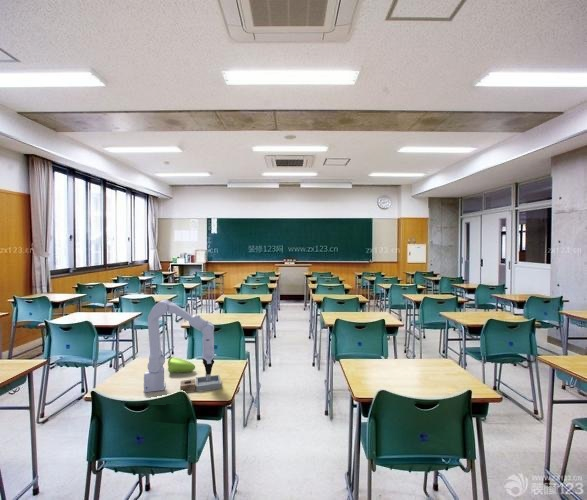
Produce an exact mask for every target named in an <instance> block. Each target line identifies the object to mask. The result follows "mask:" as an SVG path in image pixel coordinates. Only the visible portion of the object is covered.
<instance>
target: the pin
mask: <svg viewBox="0 0 587 500" xmlns="http://www.w3.org/2000/svg"><path fill="white" fill-rule="evenodd" d="M211 374H212V373H211ZM211 374H210V375H206V374H205V376H206V382H210V381H211V376H212V375H211Z"/></svg>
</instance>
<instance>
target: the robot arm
mask: <svg viewBox="0 0 587 500" xmlns="http://www.w3.org/2000/svg"><path fill="white" fill-rule="evenodd" d="M166 313H167V315H172V314H173V315H174V314H175V315H177V316H179V317H180V318H182V319H185V321H188V325H189V326H191V327H192V328H195V329H196V330H197V331H199V332H201V334H202V347H201V348H202V355H201V358H202V364H203V367H204V369H205V376H206V375H210V374H212V369H213V365H214V363H215V360H214V359H215V358H216V357H217V354H216V353H215V337H214V336H215V334H214V331H215V326H214V324H213V322H211V321H209V320H205V319H204V318H202V317H201V315H199V314H191V313H189V312H188V311H187V310H184V308H182V307H181V306H179V305H177V304H176V303H174V302H173V301H170V300H169V299H166V298H164V299H161V300H160V301H159V302H157V303H155V305H153V306H152V309H150V312H149V313H148V316H147V318H146V319H147V330H148V331H147V332H148V340H149V356H148V363H147V369H148V370H147V371H144V373H143V393H149V392H151V393H152V392H159V391H160V392H161V391H165V389H166V383H165V367H164V366H163V365H164V364H165V362H166V358H165V357H164V354H163V351H162V346H161V335H160V334H161V333H160V321H159V319H160V318H161V317H162V316H163V315H165V314H166Z"/></svg>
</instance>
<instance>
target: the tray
mask: <svg viewBox="0 0 587 500" xmlns="http://www.w3.org/2000/svg"><path fill="white" fill-rule="evenodd" d="M218 389H219V390H220V389H222V381H221V377H220V374H215V375H214V374H212V375H211V381H210V382H206V375H205V376H198V377H195V392H202V391H203V392H204V391H210V390H218Z"/></svg>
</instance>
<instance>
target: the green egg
mask: <svg viewBox="0 0 587 500" xmlns="http://www.w3.org/2000/svg"><path fill="white" fill-rule="evenodd" d="M167 366H168V368H167V372H168V373H176V374H177V373H183V374H184V373H191V372H193V371H194V370H195V369H196V365H195V364H194V363H192V362H191V361H188V360H186V359H182V358H177V357H174V356H172V357H170V358H168V360H167Z"/></svg>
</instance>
